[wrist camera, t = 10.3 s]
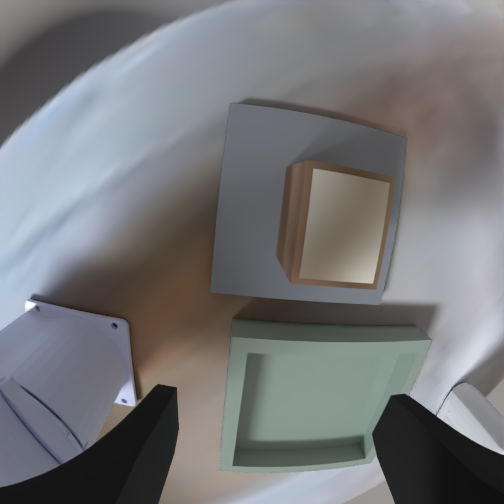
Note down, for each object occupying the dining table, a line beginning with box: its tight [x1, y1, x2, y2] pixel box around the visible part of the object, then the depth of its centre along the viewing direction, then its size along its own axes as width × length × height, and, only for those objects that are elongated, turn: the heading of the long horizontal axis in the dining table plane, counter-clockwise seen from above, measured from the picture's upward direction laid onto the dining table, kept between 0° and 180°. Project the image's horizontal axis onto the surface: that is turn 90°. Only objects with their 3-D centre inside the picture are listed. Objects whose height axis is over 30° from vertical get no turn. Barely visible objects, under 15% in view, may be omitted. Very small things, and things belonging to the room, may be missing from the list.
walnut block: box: [276, 160, 395, 290], centre depth 14 cm, size 4×5×5 cm
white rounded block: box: [437, 383, 504, 455], centre depth 17 cm, size 10×4×12 cm, turn 175°
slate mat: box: [210, 103, 406, 305], centre depth 17 cm, size 11×11×1 cm
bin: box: [220, 318, 432, 473], centre depth 19 cm, size 14×14×2 cm
